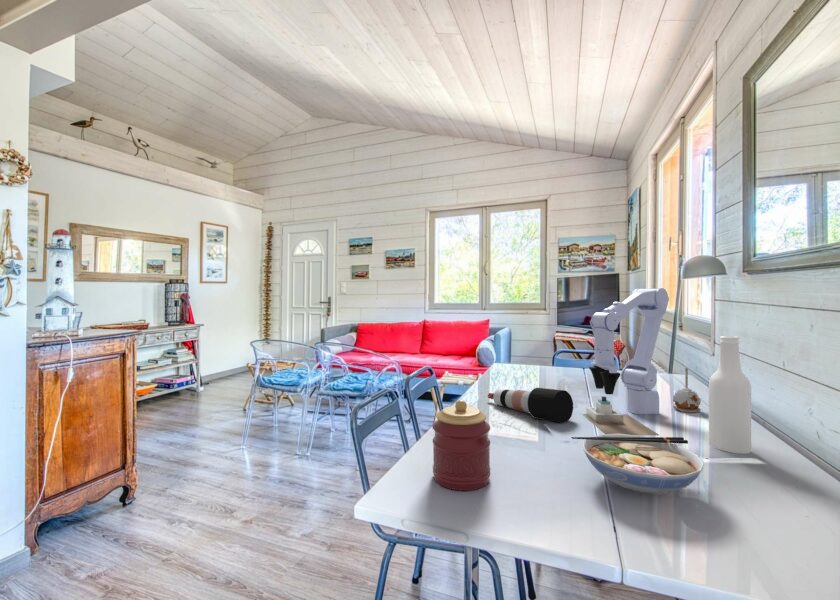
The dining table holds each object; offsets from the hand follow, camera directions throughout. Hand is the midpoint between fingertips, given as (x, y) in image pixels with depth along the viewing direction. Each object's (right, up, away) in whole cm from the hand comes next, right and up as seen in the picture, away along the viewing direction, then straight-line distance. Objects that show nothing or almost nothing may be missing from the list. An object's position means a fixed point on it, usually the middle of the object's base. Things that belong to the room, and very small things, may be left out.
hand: (604, 391), depth 128 cm
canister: (-50, -11, -39) cm, 65 cm away
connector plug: (0, -9, 0) cm, 9 cm away
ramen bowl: (-13, -11, -43) cm, 46 cm away
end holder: (0, -9, 0) cm, 9 cm away
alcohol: (+22, -10, -24) cm, 34 cm away
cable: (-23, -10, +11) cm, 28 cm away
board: (+2, -10, -5) cm, 11 cm away
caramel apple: (+35, -10, +12) cm, 38 cm away
